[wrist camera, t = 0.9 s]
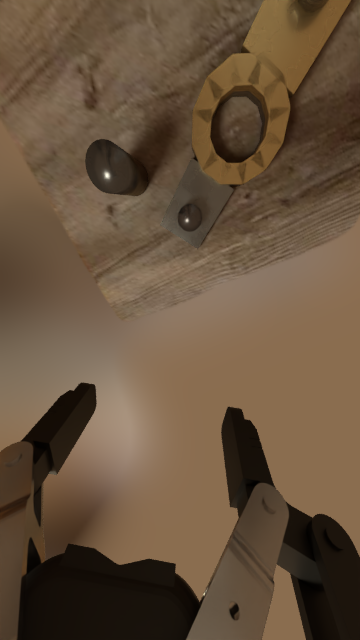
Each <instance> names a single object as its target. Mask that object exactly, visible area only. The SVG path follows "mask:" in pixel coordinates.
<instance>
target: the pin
mask: <svg viewBox="0 0 360 640" xmlns="http://www.w3.org/2000/svg"><path fill="white" fill-rule="evenodd" d="M85 162H86V169H87V173H88V175H89V178H90V179H91V181H92V183H93V184H94V185H95V186H96V187H97V188H98V189H99V190H101V191H103V192H105V193H110V194H120V195H130V196H139V195H141V194H142V193H144V191H145V190H146V188H147V186H148V174H147V171H146V169H145V167H144V165H143V164H142V163H141V162H139V161H138V160H137V159H135V158H134V157H132V156H131V155H130V154H128V153H127V152H125V151H124V150H123V149H121V148H120V147H118V146H117V145H116V144H114V143H113V142H111V141H109V140H105V139H100V140H96V141H95V142H93V143H92V144H91V145H90V146H89V148H88V150H87V153H86V160H85Z"/></svg>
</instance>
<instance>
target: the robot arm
mask: <svg viewBox="0 0 360 640" xmlns="http://www.w3.org/2000/svg"><path fill="white" fill-rule="evenodd" d="M95 408H96V389H95V385H94V384H88V383H80V384H79V385H78V386H77V388H76V389H75V390H74V391H72V390H69V391H68V392H66V393H65V394H63V395H62V396H60V397H59V398H58V400H57V401H56V402H55V403H54V404H53V406H52V407H51V408H50V409H49V410H48V412H47V413H46V414H44V416H43V417H42V418H41V419H40V420H39V421H38V423H37V424H36V425H35V426H34V427H33V428H32V429H31V431H30V432H29V433H28V434H27V435H26V436H25V437H24V438H23V439H22V440H21V441H20V442H17V443H14V444H12V445H10V446H8V447H6V448H5V449H3V450H2V451H1V452H0V640H262V636H263V632H264V628H265V624H266V620H267V616H268V612H269V608H270V604H271V601H272V596H273V591H274V581H273V576H274V572H275V568H276V564H277V565H279V566H280V567H282V568H283V569H285V570H287V571H288V572H289V573H290V575H291V579H292V583H293V587H294V591H295V595H296V600H297V604H298V608H299V612H300V616H301V620H302V625H303V629H304V632H305V637H306V640H360V557H359V555H358V553H357V550H356V548H355V546H354V544H353V542H352V541H351V539H350V537H349V535H348V534H347V533H346V531H345V530H344V529H343V528H342V527H341V526H340V525H339V524H338V523H337V522H336V521H335V520H334V519H332V518H331V517H328V516H327V515H324V514H317V515H315V516H314V517H313V518H312V517H310V516H308V515H307V514H305V513H303V512H301V511H299V510H297V509H296V508H294V507H292V506H291V505H289V504H288V503H287V502H286V501H285V500H284V498H283V497H282V495H281V494H280V493H279V491H278V490H276V488H275V486H274V484H273V481H272V478H271V474H270V471H269V468H268V465H267V462H266V458H265V455H264V452H263V450H262V445H261V442H260V439H259V436H258V432H257V429H256V428H255V426H254V425H253V424H252V422H251V421H250V420H245V419H244V415H243V412H242V410H241V409H239V408H233V407H228V408H227V410H226V414H225V417H224V420H223V424H222V432H221V433H222V443H223V451H224V460H225V468H226V477H227V485H228V492H229V500H230V507H234V508H237V509H238V516H239V519H238V521H237V523H236V525H235V528H234V530H233V532H232V534H231V536H230V538H229V540H228V542H227V545H226V547H225V549H224V551H223V553H222V556H221V558H220V560H219V562H218V564H217V566H216V568H215V570H214V573H213V575H212V577H211V579H210V581H209V583H208V585H207V587H206V590H205V592H204V594H203V596H202V598H201V600H200V602H199V600H198V598H197V596H196V595H195V593H194V592H193V590H192V589H191V587H190V586H189V585H188V584H187V583H186V581H185V580H184V579H183V578H181V577H180V576H179V575H178V574H176V573H175V566H176V564H174V563H168V562H163V561H158V560H152V559H146V560H141V561H137V562H132V563H128V564H124V565H118V564H116V563H114V562H113V561H112V560H110V559H109V558H107V557H106V556H104V555H103V554H101V553H100V552H99V551H97V550H96V549H94V548H89V547H83V546H78V545H73V544H68V546H67V548H66V550H65V553H62V554H59V555H56V556H54V557H52V558H50V559H48V560H46V561H45V544H44V537H43V482H44V480H45V478H46V477H47V475H48V474H54V475H57V474H58V472H59V470H60V469H61V467H62V465H63V464H64V462H65V460H66V459H67V457H68V455H69V454H70V452H71V450H72V448H73V447H74V445H75V444H76V442H77V440H78V439H79V437H80V435H81V433H82V432H83V430H84V429H85V427H86V425H87V423H88V422H89V420H90V418H91V417H92V415H93V413H94V411H95Z"/></svg>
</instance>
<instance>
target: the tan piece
mask: <svg viewBox="0 0 360 640" xmlns="http://www.w3.org/2000/svg"><path fill="white" fill-rule="evenodd" d="M350 1H351V0H264V1H263V3H262V5H261V7H260V9H259V11H258V14H257V16H256V18H255V20H254V22H253V24H252V27H251V29H250V31H249V33H248V35H247V37H246V39H245V42H244V44H243V46H242V50H241V53H240V54H232V55H231V56H230V57H229V58H228V59H227V60H226V61H224V62H223V63H222V64H221V65H220V66H219V67H218V68H216V69H215V70H214V71H213V72H212V73H211V74H210V75H208V76H207V78H206V81H205V83H204V86H203V88H202V90H201V93H200V95H199V97H198V100H197V102H196V104H195V107H194V109H193V124H192V150H193V152H194V155H195V157H196V160H197V161H195V160H194V159H193V158H191V160H190V162H189V164H188V167H187V169H186V171H185V173H184V175H183V177H182V179H181V182H180V184H179V186H178V188H177V190H176V192H175V194H174V197H173V199H172V201H171V203H170V205H169V207H168V209H167V212H166V214H165V216H164V218H163V220H162V222H161V224H160V225H161V226H163V227H164V228H166V229H167V230H169V231H170V232H172V233H174V234H175V235H177V236H178V237H180V238H181V239H183V240H185V241H186V242H188V243H189V244H191V245H192V246H194V247H196V248H197V249H198V248H199V246H200V245H201V243H202V241H203V240H204V238H205V236H206V235H207V233H208V232H209V230H210V228H211V227H212V225H213V223H214V222H215V220H216V218H217V217H218V215H219V213H220V212H221V210H222V209H223V207H224V205H225V204H226V202H227V200H228V199H229V197H230V195H231V194H232V192H233V190H234V189H233V188H231V187H230V186H240V185H242V184H244V183H246V182H247V181H249V180H250V179H252V178H253V177H255V176H257V175H258V174H260V173H261V172H263V171H265V170H266V168H267V167H268V165H269V164H270V162H271V161H272V159H273V157H274V156H275V154H276V153H277V151H278V150H279V148H280V147H281V145H282V144H283V140H284V136H285V131H286V127H287V122H288V117H289V113H290V109H291V107H290V103H289V99H290V98H291V97H292V95H293V94H294V93H295V91H296V90H297V88H298V86H299V85H300V83H301V81H302V80H303V78H304V76H305V75H306V73H307V72H308V70H309V68H310V67H311V65H312V63H313V62H314V60H315V58H316V57H317V55H318V54H319V52H320V50H321V49H322V47H323V45H324V44H325V42H326V41H327V39H328V37H329V36H330V34H331V32H332V31H333V29H334V27H335V26H336V24H337V23H338V21H339V19H340V18H341V16H342V14H343V13H344V11H345V9H346V8H347V6H348V5H349V3H350ZM244 96H247V97H248V98H249V99H250V100H251V101H252V102H253V103H254V104H256V105H257V106H258V109H259V113H260V117H261V120H262V129H261V135H260V141H259V144H258V146H257V147H256V149H255V151H254V152H253V154H252V156H251V157H249V158H248V159H247V160H245V161H244V162H242V163H227V162H226V161H224V160H223V159H222V158H220V157H219V156H218V155H217V154H216V152H215V150H214V147H213V144H212V141H211V139H210V132H211V122H212V120H213V118H214V116H215V114H216V111H217V109H218V108H219V107H220V106H221V105H222V104H224V103H225V102H226V101H227V100H229V99H230V98H231V97H244Z"/></svg>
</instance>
